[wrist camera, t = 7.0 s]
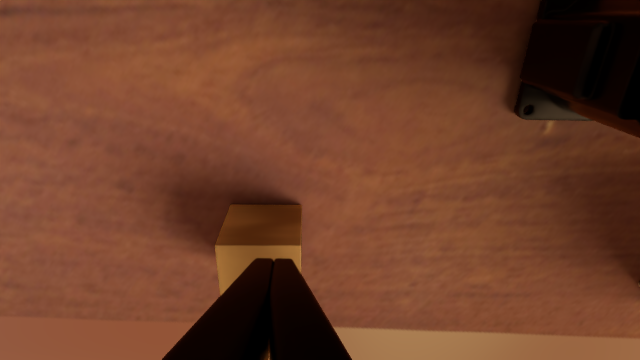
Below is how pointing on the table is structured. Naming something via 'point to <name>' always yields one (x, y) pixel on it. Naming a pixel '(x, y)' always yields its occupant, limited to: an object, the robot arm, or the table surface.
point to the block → (257, 238)
